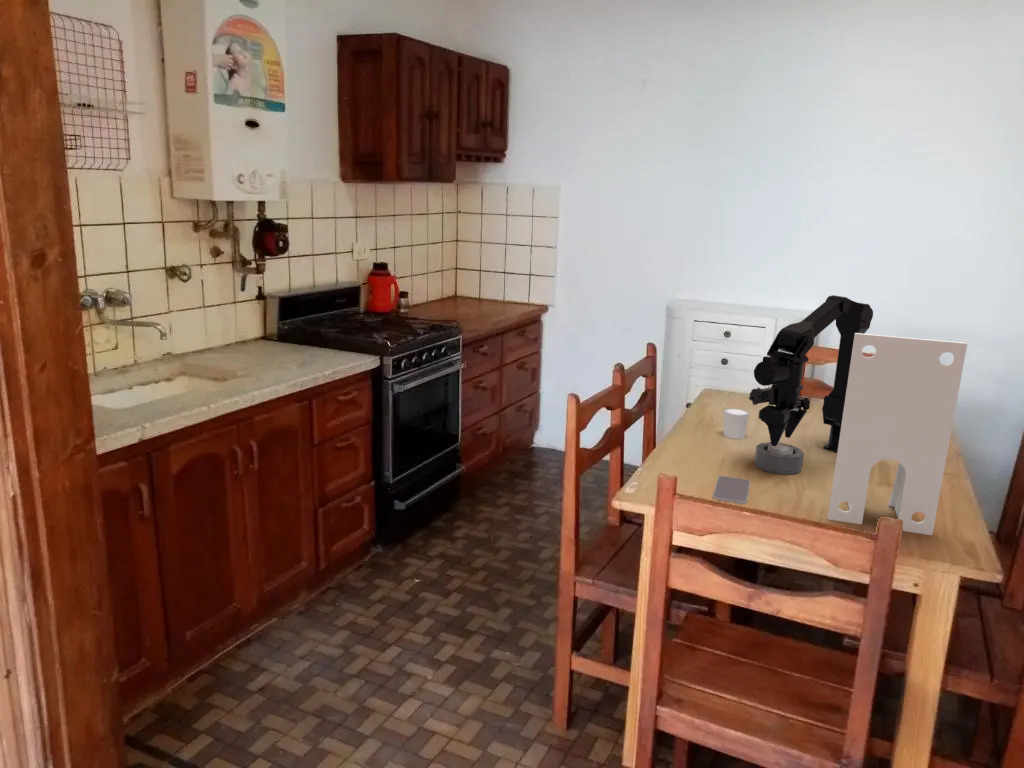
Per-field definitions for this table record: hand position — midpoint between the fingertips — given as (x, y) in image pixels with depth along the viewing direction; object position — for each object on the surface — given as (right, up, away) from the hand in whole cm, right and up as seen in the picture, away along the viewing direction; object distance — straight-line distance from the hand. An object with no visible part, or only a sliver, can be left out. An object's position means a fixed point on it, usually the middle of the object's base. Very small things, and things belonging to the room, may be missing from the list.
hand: (780, 441), depth 199 cm
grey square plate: (-16, -11, -15) cm, 24 cm away
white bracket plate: (+12, -14, -25) cm, 31 cm away
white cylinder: (-5, 0, +25) cm, 26 cm away
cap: (0, -5, +1) cm, 6 cm away
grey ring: (0, -6, +2) cm, 7 cm away
